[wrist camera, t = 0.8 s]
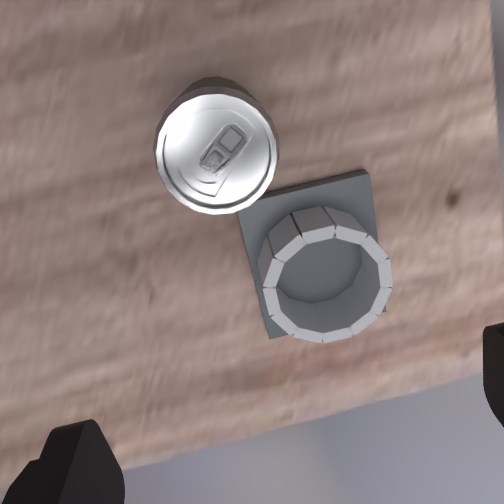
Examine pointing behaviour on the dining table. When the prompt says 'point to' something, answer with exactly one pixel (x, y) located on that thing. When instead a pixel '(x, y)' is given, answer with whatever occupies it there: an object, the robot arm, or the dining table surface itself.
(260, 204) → the flanged pipe fitting
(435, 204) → the dining table surface
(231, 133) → the beer can
